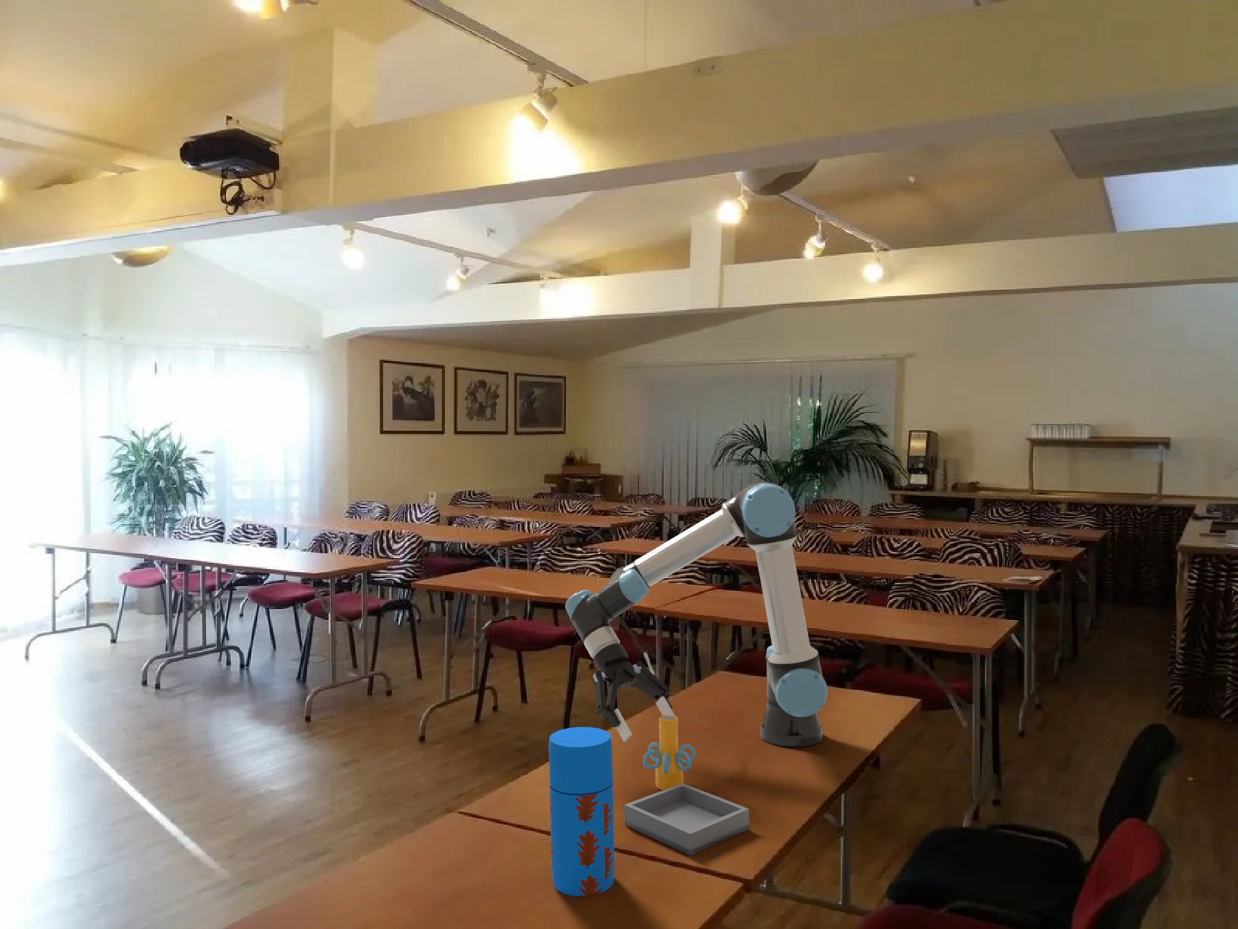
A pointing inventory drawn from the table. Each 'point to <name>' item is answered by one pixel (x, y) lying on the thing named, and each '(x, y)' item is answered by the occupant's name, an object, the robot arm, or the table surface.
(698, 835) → the tray
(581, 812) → the thermos
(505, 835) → the table surface
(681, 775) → the cylinder
